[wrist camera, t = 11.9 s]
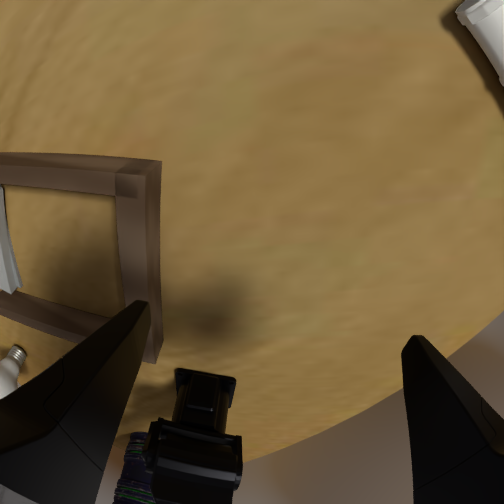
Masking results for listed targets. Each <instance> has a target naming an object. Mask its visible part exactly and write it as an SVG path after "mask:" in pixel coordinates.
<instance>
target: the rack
mask: <svg viewBox="0 0 504 504" xmlns="http://www.w3.org/2000/svg"><path fill="white" fill-rule="evenodd" d="M161 169H162V161H156V160H146V159H136V158H125V157H112V156H98V155H82V154H61V153H18V152H6V153H0V184H10V185H21V186H31V187H41V188H51V189H60V190H70V191H78V192H87V193H95V194H104V195H112V196H115V198H116V218H117V233H118V245H119V256H120V265H121V274H122V283H123V290H124V298H125V305H126V307H127V306H128V305H130V304H131V303H132V302H134V301H135V300H137V299H139V300H144V301H148V302H149V304H150V312H151V326H150V330H149V334H148V338H147V342H146V346H145V350H144V354H143V358H142V361H143V362H147V363H152V364H156V361H157V358H158V355H159V352H160V349H161V346H162V343H163V327H162V309H161V284H160V194H161ZM0 315H2V316H4V317H7V318H9V319H12V320H14V321H17V322H19V323H22V324H24V325H27V326H29V327H32V328H35V329H37V330H40V331H43V332H46V333H48V334H51V335H54V336H57V337H60V338H63V339H66V340H69V341H72V342H75V343H78V344H79V343H80V342H82V341H83V340H84V339H85V338H87V337H88V336H89V335H91V334H92V333H93V332H94V331H96V330H97V329H98V328H100V327H101V326H102V325H104V324H105V323H106V322H107V321H109V320H110V318H106V317H103V316H99V315H95V314H91V313H87V312H84V311H80V310H77V309H73V308H69V307H66V306H63V305H59V304H56V303H53V302H49V301H46V300H43V299H40V298H37V297H33V296H30V295H27V294H24V293H21V292H18V291H16V290H15V291H14V292H13V293H12V294H10V293H8V292H6V291H4V290H2V291H1V292H0Z"/></svg>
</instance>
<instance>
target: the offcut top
mask: <svg viewBox="0 0 504 504" xmlns="http://www.w3.org/2000/svg"><path fill="white" fill-rule="evenodd" d="M16 288H17V286H16V282H15V277H14V272H13V267H12V261H11V256H10V250H9V243H8V236H7V228H6V219H5V209H4V196H3V188H2V187H0V289H2V290H4V291H6V292H8V293H10V294H12V293H13V292H14V291H15V289H16Z"/></svg>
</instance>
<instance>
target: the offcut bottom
mask: <svg viewBox="0 0 504 504" xmlns="http://www.w3.org/2000/svg"><path fill="white" fill-rule="evenodd" d="M0 187H1V184H0ZM4 209H5V207H4ZM5 219H6V213H5ZM6 228H7V236H8V243H9V250H10V256H11V261H12V267H13V272H14V277H15V282H16V286H17V287H19V288H21V287H22V286H23V284H22V281H21V277H20V274H19V270H18V267H17V263H16V259H15V255H14V251H13V247H12V243H11V238H10V234H9V229H8V224H7V219H6Z"/></svg>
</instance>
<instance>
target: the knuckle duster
mask: <svg viewBox="0 0 504 504" xmlns="http://www.w3.org/2000/svg"><path fill="white" fill-rule="evenodd" d="M455 13H456V14H457V15H458V16H457V18H458V20H459V21H460V22H461V24H462V25H465V26H466V27H467V28H468V30H469V31H470V32H471V34H472V35H473V37H474V38H475V39H476V41H477V42H478V44H479V45H480V47H481V48H482V50H483V51H484V53H485V54H486V56H487V57H488V59H489V61H490V62H491V64H492V65H493V67H494V69H495V70H496V72H497V74H498V75H499V81H500V83H501V84H502V86H504V0H465V1H464V2H463V3H462V4H461V5H460V6H459V7H458V8H457V9H456V11H455Z"/></svg>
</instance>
